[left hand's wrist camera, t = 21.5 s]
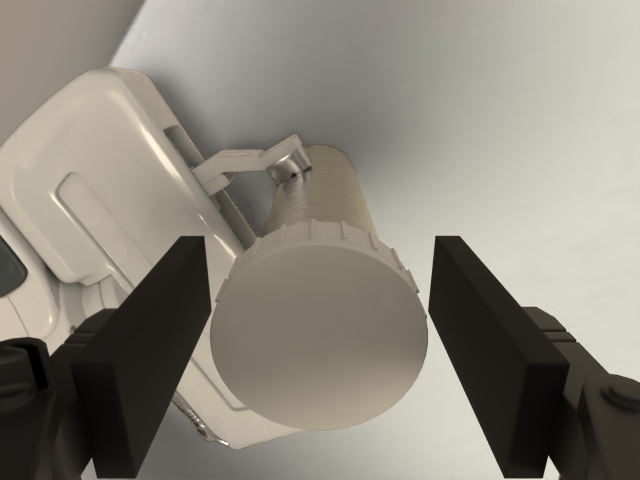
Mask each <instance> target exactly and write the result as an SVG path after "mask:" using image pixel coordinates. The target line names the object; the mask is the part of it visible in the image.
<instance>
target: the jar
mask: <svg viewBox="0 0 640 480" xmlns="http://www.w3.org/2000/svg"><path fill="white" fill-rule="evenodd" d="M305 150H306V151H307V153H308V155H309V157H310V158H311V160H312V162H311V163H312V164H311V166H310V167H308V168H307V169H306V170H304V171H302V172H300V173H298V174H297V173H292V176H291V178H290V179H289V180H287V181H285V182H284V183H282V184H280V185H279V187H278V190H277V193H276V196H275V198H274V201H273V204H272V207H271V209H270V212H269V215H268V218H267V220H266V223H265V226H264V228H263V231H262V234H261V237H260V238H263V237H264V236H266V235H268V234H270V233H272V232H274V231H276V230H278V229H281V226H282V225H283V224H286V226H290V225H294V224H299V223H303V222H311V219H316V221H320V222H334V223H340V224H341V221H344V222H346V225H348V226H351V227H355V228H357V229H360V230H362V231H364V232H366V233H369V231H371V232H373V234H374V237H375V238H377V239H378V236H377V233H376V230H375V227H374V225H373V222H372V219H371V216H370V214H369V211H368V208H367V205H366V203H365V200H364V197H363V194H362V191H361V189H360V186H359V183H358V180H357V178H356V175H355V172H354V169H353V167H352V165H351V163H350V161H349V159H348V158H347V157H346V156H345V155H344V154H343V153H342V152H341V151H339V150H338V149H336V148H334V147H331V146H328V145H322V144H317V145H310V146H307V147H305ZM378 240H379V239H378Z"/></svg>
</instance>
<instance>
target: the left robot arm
mask: <svg viewBox="0 0 640 480" xmlns="http://www.w3.org/2000/svg"><path fill="white" fill-rule="evenodd" d="M211 312H212V307H211V297H210V287H209V277H208V267H207V257H206V247H205V237H204V236H180V237H179V238H178V239H177V240H176V242H175V243H174V244H173V245H172V246H171V247H170V249H169V250H168V251H167V252H166V253H165V254H164V255H163V257H162V258H161V259H160V260H159V261H158V262H157V264H156V265H155V266H154V267H153V268H152V269H151V270H150V272H149V273H148V274H147V275H146V276H145V277H144V278H143V280H142V281H141V282H140V283H139V284H138V285H137V287H136V288H135V289H134V290H133V291H132V292H131V293H130V295H129V296H128V297H127V298H126V299H125V300H124V302H123V303H122V304H121V305H120V306H119V307H118V308H104V309H102V310H100V311H98V312H97V313H95V314H93V315H92V316H90V317H88V318H86V319H85V320H84V321H83V322H82V323H81V324H80V325H79V326H78V327H77V329H76V330H75V331H74V334H71V335H70V336H69V337H68V338H67V339H66V340H65V341H64V344H61V345H60V346H59V347H58V348H57V349H56V350H55V351H54V352H53V354H52V355H51V356H49V352H48V348H47V344H46V343H45V342H44V341H42V340H41V339H39V338H32V337H21V338H11V339H7V340H3V341H0V480H82V479H81V474H82V473H83V471H84V469H85V468H86V466H87V464H88V463H89V461H90V459H91V458H92V459H93V463H94V467H95V471H96V475H97V478H136V476H137V474H138V472H139V470H140V467H141V465H142V463H143V461H144V459H145V456H146V454H147V452H148V450H149V448H150V446H151V443H152V441H153V439H154V437H155V435H156V432H157V430H158V428H159V426H160V424H161V421H162V419H163V417H164V415H165V413H166V411H167V408H168V406H169V404H170V402H171V400H172V397H173V395H174V393H175V391H176V389H177V387H178V384H179V382H180V380H181V378H182V376H183V373H184V371H185V369H186V367H187V365H188V362H189V360H190V358H191V356H192V354H193V352H194V349H195V347H196V345H197V343H198V341H199V338H200V336H201V334H202V332H203V330H204V328H205V325H206V323H207V321H208V319H209V317H210V314H211ZM428 312H429V314H430V317H431V319H432V321H433V323H434V325H435V328H436V330H437V332H438V334H439V336H440V338H441V341H442V343H443V345H444V347H445V349H446V352H447V354H448V356H449V358H450V360H451V362H452V365H453V367H454V369H455V371H456V373H457V376H458V378H459V380H460V382H461V384H462V387H463V389H464V391H465V393H466V395H467V397H468V400H469V402H470V404H471V406H472V408H473V411H474V413H475V415H476V417H477V419H478V421H479V424H480V426H481V428H482V430H483V432H484V435H485V437H486V439H487V441H488V443H489V446H490V448H491V450H492V452H493V454H494V456H495V459H496V461H497V463H498V465H499V467H500V470H501V472H502V474H503V476H504V478H543V475H544V471H545V467H546V463H547V459H548V455H549V457H550V459H551V460H552V462H553V464H554V465H555V467H556V469H557V470H558V472H559V474H560V475H559V479H558V480H640V382H637V381H635V380H633V379H630V378H626V377H623V376H620V375H615V374H609V373H608V372H607V371H606V370H605V369H604V368H603V367H602V366H601V365H600V364H599V363H598V362H597V361H596V360H595V359H594V358H593V357H592V356H591V355H590V354H589V352H588V351H587V350H586V349H585V348H584V347H583V346H582V345H581V344H580V343H579V342H576V339H575V338H574V337H573V336H572V335H571V334H570V333H569V332H566V329H565V328H564V327H563V326H562V325H561V324H560V323H559V321H558V320H557V319H556V318H555V317H553V316H551V315H550V314H548V313H546V312H544V311H543V310H541V309H539V308H537V307H521V306H520V305H519V304H518V303H517V302H516V300H515V299H514V298H513V297H512V296H511V295H510V293H509V292H508V291H507V290H506V289H505V288H504V287H503V285H502V284H501V283H500V282H499V281H498V280H497V278H496V277H495V276H494V275H493V274H492V273H491V272H490V270H489V269H488V268H487V267H486V266H485V265H484V264H483V262H482V261H481V260H480V259H479V258H478V257H477V255H476V254H475V253H474V252H473V251H472V250H471V249H470V247H469V246H468V245H467V244H466V243H465V242H464V240H463V239H462V238H461V237H460V236H436V237H435V247H434V257H433V267H432V277H431V287H430V297H429V307H428Z"/></svg>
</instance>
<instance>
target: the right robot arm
mask: <svg viewBox="0 0 640 480" xmlns="http://www.w3.org/2000/svg"><path fill="white" fill-rule="evenodd" d="M311 162H312V160H311V158H310V157H309V155H308V153H307V151H306V150H305V148H304V146H303V144H302V143H301V141H300V139H299V138H298V136H297V134H294V135H292V136H290V137H288V138H287V139H285V140H283V141H282V142H280V143H278V144H277V145H275V146H273V147H272V148H270V149H268V150H267V151H265V152H264V150H222V151H220V152H218V153H217V154H215V155H213V156H212V157H210V158H209V159H207V160H204V158H203V157H202V155H201V154H200V152H199V151H198V149H197V148H196V146H195V145H194V144H193V142H192V141H191V139H190V138H189V136H188V135H187V133H186V132H185V130H184V129H183V127H182V126H181V124H180V123H179V121H178V120H177V118H176V117H175V116H174V114H173V113H172V111H171V110H170V108H169V107H168V105H167V104H166V102H165V101H164V99H163V98H162V96H161V95H160V93H159V92H158V90H157V89H156V87H155V86H154V84H153V83H152V82H151V80H150V79H149V78H148V77H147V76H146V75H145V74H143V73H141V72H138V71H134V70H129V69H125V68H118V67H99V68H94V69H90V70H88V71H86V72H84V73H82V74H80V75H79V76H77V77H76V78H74V79H73V80H71V81H70V82H69V83H67V84H66V85H65V86H63V87H62V88H61V89H59V90H58V91H57V92H56V93H55V94H53V95H52V96H51V97H50V98H49V99H47V100H46V101H45V102H44V103H43V104H42V105H41V106H39V107H38V108H37V109H36V110H35V111H34V112H33V113H32V114H31V115H30V116H28V117H27V118H26V119H25V120H24V121H23V122H22V123H21V124H20V125H19V126H18V127H17V128H16V130H14V132H13V133H12V134H11V135H10V136H9V137H8V138H7V139H6V140H5V141H4V143H3V144H2V145H1V147H0V341H3V340H7V339H11V338H21V337H32V338H39V339H41V340H42V341H44V342H45V343H46V344H47V348H48V352H49V356H51V355H52V354H53V352H54V351H55V350H56V349H57V348H58V347H59V346H60V345H61V344H64V341H65V340H66V339H67V338H68V337H69V336H70V335H71V334H74V331H75V330H76V329H77V327H78V326H79V325H80V324H81V323H82V322H83V321H84V320H85V319H86V318H88V317H90V316H92V315H93V314H95V313H97V312H98V311H100V310H102V309H104V308H118V307H119V306H120V305H121V304H122V303H123V302H124V300H125V299H126V298H127V297H128V296H129V295H130V293H131V292H132V291H133V290H134V289H135V288H136V287H137V285H138V284H139V283H140V282H141V281H142V280H143V278H144V277H145V276H146V275H147V274H148V273H149V272H150V270H151V269H152V268H153V267H154V266H155V265H156V264H157V262H158V261H159V260H160V259H161V258H162V257H163V255H164V254H165V253H166V252H167V251H168V250H169V249H170V247H171V246H172V245H173V244H174V243H175V242H176V240H177V239H178V238H179V237H180V236H204V237H205V247H206V257H207V267H208V277H209V287H210V297H211V307H212V312H211V314H210V317H209V319H208V321H207V323H206V325H205V328H204V330H203V332H202V334H201V336H200V338H199V341H198V343H197V345H196V347H195V349H194V352H193V354H192V356H191V358H190V360H189V362H188V365H187V367H186V369H185V371H184V373H183V376H182V378H181V380H180V382H179V384H178V387H177V389H176V391H175V393H174V395H173V397H172V400H171V403H172V404H173V405H174V407H175V408H176V409H177V410H178V411H179V412H180V413H182V414H183V415H184V416H185V417H186V418H188V420H189V421H190V422H191V423H192V424H193V425H194V429H195V430H196V432H197V433H198V434H199V435H200V436H201V437H202V438H203V439H205V440H206V441H208V442H212V441H214V440H215V441H216V442H218V443H220V444H222V445H225V446H229V447H231V448H232V449H242V448H245V447H247V446H250V445H252V444H256V443H260V442H264V441H268V440H272V439H275V438H279V437H282V436H285V435H289V434H292V433H295V432H298V431H301V430H304V429H297V428H292V427H288V426H284V425H281V424H278V423H275V422H272V421H270V420H268V419H266V418H264V417H262V416H260V415H258V414H256V413H255V412H253V411H252V410H250V409H249V408H247V407H246V406H245V405H244V404H242V403H241V402H240V401H239V400H238V399H237V398H236V397H235V396H234V395H233V394H232V393H231V392H230V391H229V389H228V388H227V386H226V385H225V384H224V382H223V381H222V379H221V377H220V375H219V373H218V371H217V369H216V366H215V363H214V361H213V357H212V352H211V347H210V327H211V321H212V317H213V313H214V310H215V307H216V305H217V303H216V302H215V299H216V297H217V295H218V292H219V290H220V288H221V286H222V284H223V282H224V279H225V278H226V279H228V278H229V277H228V275H229V273H230V271H231V268H232V266H233V264H234V262H235V260H236V258H237V256H238V255H239V256H240V257H241V256H242V255H243V254H244V253H245V252H246V251H247V250H248V249H249V248H250V247H251V246H252V245H253V244H254V242H255V240H256V238H257V236H256V235H255V233H254V232H253V231H252V229H251V228H250V226H249V225H248V223H247V222H246V220H245V219H244V217H243V216H242V214H241V213H240V211H239V210H238V208H237V207H236V205H235V204H234V203H233V201H232V200H231V198H230V197H229V195H228V194H227V192H226V191H225V189H224V188H225V187H227V186H228V185H229V184H230V183H231V182H232V180H233V179H234V178H235V177H236V175H237V172H256V171H268V172H269V173H270V175H271V176H272V178H273V179H274V181H275V182H276V184H277V185H280V184H282V183H284V182H285V181H287V180H289V179H290V178H291V176H292V173H297V174H298V173H300V172H302V171H304V170H306V169H307V168H308V167H310V166H311V164H312V163H311Z"/></svg>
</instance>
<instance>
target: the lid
mask: <svg viewBox="0 0 640 480" xmlns="http://www.w3.org/2000/svg"><path fill="white" fill-rule="evenodd" d="M228 277H229V278H228V279H226V278H225V279H224V282H223V284H222V286H221V288H220V290H219V292H218V295H217V297H216V299H215V302H216V303H217V305H216V307H215V310H214V313H213V317H212V321H211V327H210V347H211V352H212V357H213V361H214V363H215V366H216V369H217V371H218V373H219V375H220V377H221V379H222V381H223V382H224V384H225V385H226V386H227V388H228V389H229V391H230V392H231V393H232V394H233V395H234V396H235V397H236V398H237V399H238V400H239V401H240V402H241V403H242V404H244V405H245V406H246V407H247V408H249V409H250V410H252V411H253V412H255V413H256V414H258V415H260V416H262V417H264V418H266V419H268V420H270V421H272V422H275V423H278V424H281V425H284V426H288V427H292V428H297V429H304V430H335V429H341V428H346V427H350V426H354V425H357V424H360V423H363V422H365V421H368V420H370V419H372V418H374V417H376V416H378V415H380V414H382V413H383V412H385V411H386V410H388V409H389V408H391V407H392V406H393V405H394V404H395V403H397V402H398V401H399V400H400V399H401V398H402V397H403V396H404V395H405V394H406V393H407V391H408V390H409V389H410V388H411V386H412V385H413V383H414V382H415V380H416V379H417V377H418V375H419V373H420V371H421V369H422V366H423V363H424V360H425V357H426V352H427V346H428V328H427V321H426V319H427V315H426V313H425V311H424V308H423V306H422V304H421V302H420V299H419V297H418V295H417V293H419V290H418V288H417V285H416V283H415V281H414V279H413V277H412V275H411V272H410V270H407V271H406V270H405V268H404V266H403V265H402V263H401V262H400V260H399V258H398V255H397V253H396V251H395V249H394V248H392V249H391V250H390V249H389V248H388V247H387V246H386V245H385V244H383V243H382V242H381V241H380V240H378V239H377V238H375V237H374V234H373V232H371V231H369V233H366V232H364V231H362V230H360V229H357V228H355V227H351V226H348V225H346V222H344V221H341V224H340V223H334V222H320V221H316V219H311V222H303V223H299V224H294V225H290V226H286V224H283V225H282V226H281V229H278V230H276V231H274V232H272V233H270V234H268V235H266V236H264V237H263V238H260V237H257V238H256V240H255V242H254V244H253V245H252V246H251V247H250V248H249V249H248V250H247V251H246V252H245V253H244V254H243V255H242V256H241V257H240V256H239V255H238V256H237V258H236V260H235V262H234V264H233V266H232V268H231V271H230V273H229V275H228Z"/></svg>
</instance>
